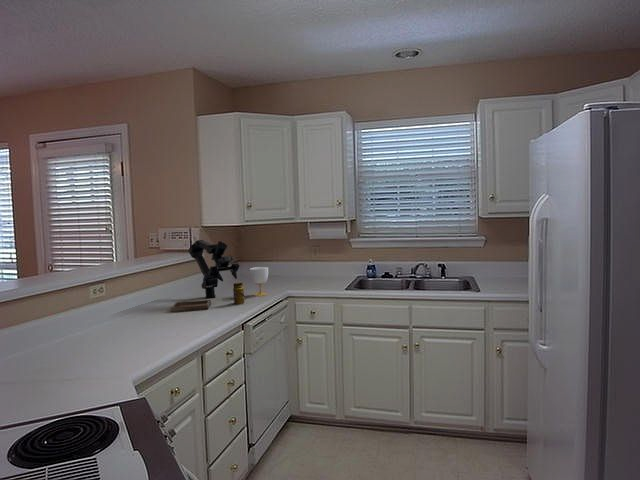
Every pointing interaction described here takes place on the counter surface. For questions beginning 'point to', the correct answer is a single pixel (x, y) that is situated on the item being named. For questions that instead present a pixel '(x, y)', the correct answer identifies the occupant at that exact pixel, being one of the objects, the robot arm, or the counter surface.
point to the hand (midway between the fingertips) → (229, 279)
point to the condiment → (238, 294)
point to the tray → (191, 306)
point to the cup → (259, 277)
